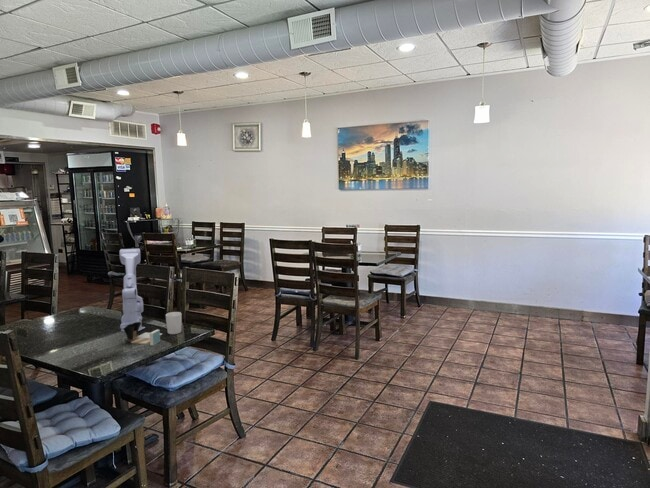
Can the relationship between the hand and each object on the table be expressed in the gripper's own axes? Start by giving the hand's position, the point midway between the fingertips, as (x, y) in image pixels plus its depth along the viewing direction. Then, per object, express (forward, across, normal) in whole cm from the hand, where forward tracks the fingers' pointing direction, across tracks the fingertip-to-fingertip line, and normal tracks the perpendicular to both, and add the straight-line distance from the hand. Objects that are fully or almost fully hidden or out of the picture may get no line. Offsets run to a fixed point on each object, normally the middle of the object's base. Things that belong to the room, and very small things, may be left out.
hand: (132, 338), depth 213 cm
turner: (+1, 0, -4) cm, 4 cm away
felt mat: (+1, +8, -4) cm, 9 cm away
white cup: (+2, +16, -14) cm, 21 cm away
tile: (+2, -1, -13) cm, 13 cm away
